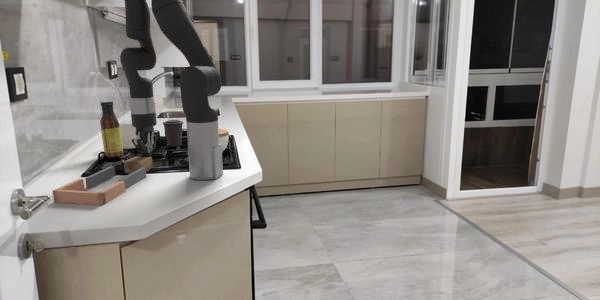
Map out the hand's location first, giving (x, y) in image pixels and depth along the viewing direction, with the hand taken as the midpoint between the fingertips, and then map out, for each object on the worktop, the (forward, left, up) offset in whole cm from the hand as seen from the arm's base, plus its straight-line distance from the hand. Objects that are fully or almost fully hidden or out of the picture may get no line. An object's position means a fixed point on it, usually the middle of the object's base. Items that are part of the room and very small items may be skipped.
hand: (148, 163), depth 138 cm
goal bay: (0, +29, -1) cm, 30 cm away
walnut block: (0, +5, -1) cm, 6 cm away
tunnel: (0, +17, -1) cm, 18 cm away
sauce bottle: (+19, -11, -1) cm, 22 cm away
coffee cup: (+5, -31, -1) cm, 31 cm away
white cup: (+21, -25, -1) cm, 32 cm away
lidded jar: (-15, -23, -1) cm, 27 cm away
